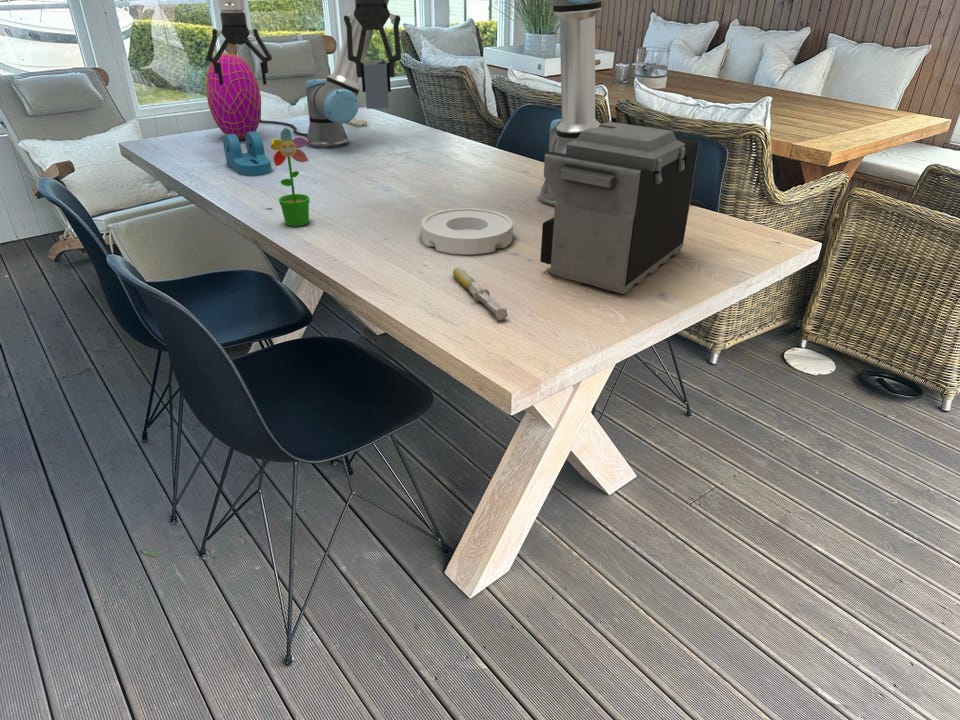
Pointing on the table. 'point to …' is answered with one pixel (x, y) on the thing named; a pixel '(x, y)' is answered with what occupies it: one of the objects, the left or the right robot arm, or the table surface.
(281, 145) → the potted flower
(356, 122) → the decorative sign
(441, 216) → the ashtray
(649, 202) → the electronic device
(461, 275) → the syringe
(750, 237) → the table surface
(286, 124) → the left robot arm
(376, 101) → the block
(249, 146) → the camera mount
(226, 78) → the decorative egg
